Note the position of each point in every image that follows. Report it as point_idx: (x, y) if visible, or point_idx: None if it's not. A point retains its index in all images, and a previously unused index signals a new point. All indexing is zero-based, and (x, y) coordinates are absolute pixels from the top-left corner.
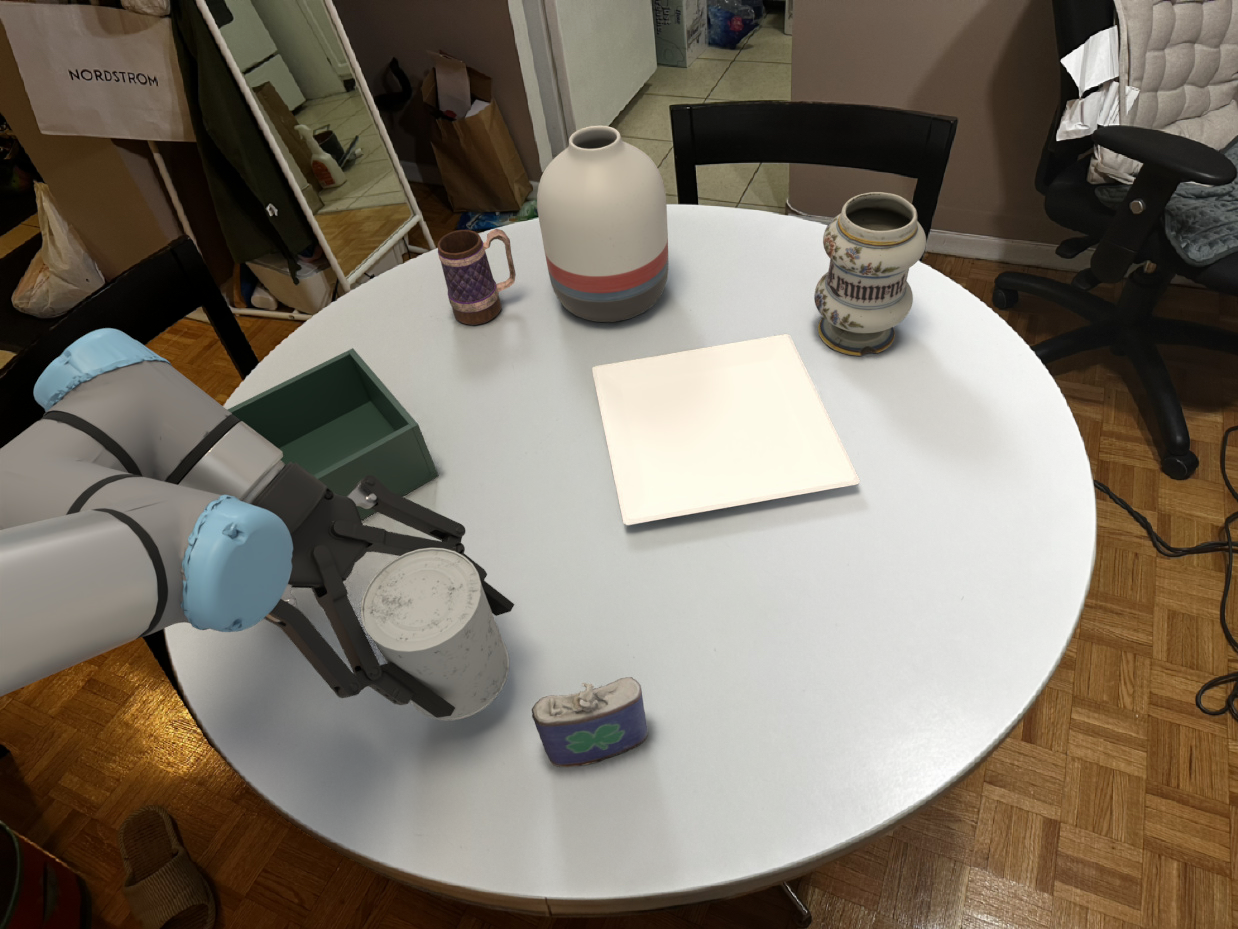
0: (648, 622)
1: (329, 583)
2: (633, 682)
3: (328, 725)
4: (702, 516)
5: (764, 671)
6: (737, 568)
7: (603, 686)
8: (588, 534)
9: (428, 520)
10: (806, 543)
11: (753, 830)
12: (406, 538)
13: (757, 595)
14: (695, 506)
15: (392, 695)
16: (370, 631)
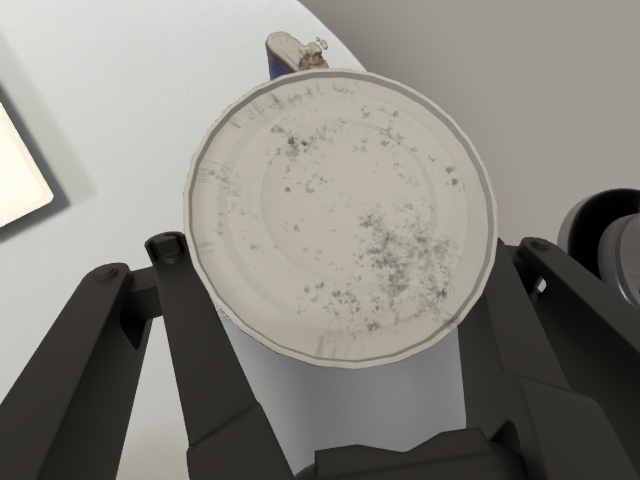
0: (180, 147)
1: (617, 469)
2: (270, 38)
3: (404, 382)
4: (25, 141)
5: (195, 54)
6: (92, 94)
7: (287, 62)
8: (82, 247)
9: (84, 343)
10: (44, 48)
11: (313, 38)
12: (187, 357)
13: (120, 73)
14: (5, 133)
15: None
16: (479, 261)
